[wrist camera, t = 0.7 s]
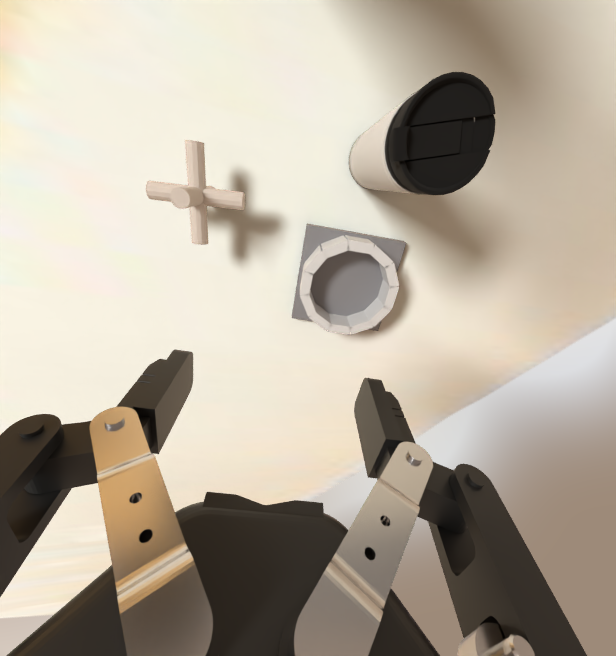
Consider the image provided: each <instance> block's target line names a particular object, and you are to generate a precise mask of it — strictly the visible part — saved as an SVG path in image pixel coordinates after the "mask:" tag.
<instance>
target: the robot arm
mask: <svg viewBox="0 0 616 656" xmlns="http://www.w3.org/2000/svg"><path fill="white" fill-rule="evenodd" d="M192 383H193V353H192V352H188V351H181V350H173V352H172V353H171V354H170V356H169V357H168V359H167V360H164V359H159V360H157V361H155V362H154V363H152V364H150V365H149V366H148V367H147V369H146V370H145V371H144V372H143V375H141V376H140V378H139V379H138V380H137V382H136V383H135V384H134V385H133V386H132V388H131V389H130V390H129V392H128V393H127V394H126V395H125V397H124V398H123V399H122V400H121V402H120V403H119V404H118V405H117V407H114V408H110V409H107V410H105V411H103V412H101V413H99V414H98V415H97V416H96V417H95V418H94V419H93V420H92V421H88V422H81V423H72V424H64V425H62V424H61V421H60V419H59V418H58V417H56V416H54V415H50V414H39V415H34V416H30V417H27V418H24V419H22V420H20V421H18V422H16V423H14V424H13V425H11V426H10V427H9V428H7V429H6V430H5V431H4V432H3V433H2V434H1V435H0V597H1V595H2V594H3V592H4V591H5V589H6V588H7V586H8V585H9V583H10V582H11V580H12V579H13V577H14V575H15V574H16V572H17V571H18V569H19V568H20V566H21V565H22V563H23V562H24V560H25V559H26V557H27V556H28V554H29V553H30V551H31V550H32V548H33V546H34V545H35V543H36V542H37V540H38V539H39V537H40V536H41V534H42V533H43V531H44V530H45V528H46V527H47V525H48V524H49V522H50V521H51V519H52V517H53V516H54V514H55V513H56V511H57V510H58V508H59V507H60V505H61V504H62V502H63V501H64V499H65V498H66V496H67V495H68V493H69V492H70V490H71V488H74V487H79V486H84V485H89V484H94V483H98V486H99V492H100V497H101V503H102V509H103V515H104V520H105V526H106V532H107V538H108V543H109V549H110V555H111V561H112V566H110V567H109V568H108V569H107V570H106V571H105V572H103V573H102V574H101V575H100V576H99V577H98V578H96V579H95V580H94V581H93V582H92V583H91V584H89V585H88V586H87V587H86V588H85V589H84V590H82V591H81V592H80V593H79V594H78V595H77V596H75V597H74V598H73V599H72V600H71V601H70V602H68V603H67V604H66V605H65V606H64V607H63V608H61V609H60V610H59V611H58V612H57V613H56V614H54V615H53V616H52V617H51V618H50V619H49V620H47V621H46V622H45V623H44V624H43V625H42V626H40V627H39V628H38V629H37V630H36V631H35V632H33V633H32V634H31V635H30V636H29V637H28V638H27V639H25V640H24V641H23V642H22V643H21V644H19V645H18V646H17V647H16V648H15V649H14V650H13V651H11V652H10V653H9V654H8V655H7V656H440V655H439V654H438V653H437V651H436V650H435V648H434V647H433V646H432V644H431V643H430V641H429V640H428V639H427V637H426V636H425V634H424V633H423V632H422V630H421V629H420V627H419V626H418V625H417V623H416V622H415V621H414V619H413V618H412V616H411V615H410V614H409V612H408V611H407V610H406V608H405V607H404V606H403V604H402V603H401V601H400V600H399V599H398V597H397V596H396V594H395V593H394V592H393V590H392V589H391V586H392V583H393V580H394V577H395V575H396V572H397V569H398V567H399V564H400V561H401V559H402V556H403V553H404V550H405V548H406V545H407V543H408V540H409V537H410V534H411V532H412V529H413V526H414V524H415V521H416V518H417V516H418V517H420V518H422V519H424V520H427V521H428V522H429V526H430V529H431V532H432V536H433V539H434V542H435V545H436V549H437V552H438V555H439V559H440V562H441V565H442V568H443V572H444V575H445V578H446V581H447V585H448V588H449V591H450V595H451V598H452V601H453V604H454V607H455V611H456V614H457V618H458V621H459V624H460V627H461V631H462V634H463V637H464V639H463V640H462V641H461V642H460V644H459V647H458V656H587V655H586V653H585V651H584V649H583V648H582V646H581V644H580V642H579V640H578V638H577V637H576V635H575V633H574V631H573V629H572V627H571V626H570V624H569V622H568V620H567V618H566V617H565V615H564V613H563V611H562V610H561V608H560V606H559V604H558V602H557V600H556V598H555V597H554V595H553V593H552V591H551V589H550V588H549V586H548V584H547V582H546V580H545V578H544V577H543V575H542V573H541V571H540V569H539V568H538V566H537V564H536V562H535V560H534V559H533V557H532V555H531V553H530V551H529V549H528V548H527V546H526V544H525V542H524V540H523V538H522V537H521V535H520V533H519V531H518V530H517V528H516V526H515V524H514V522H513V520H512V518H511V517H510V515H509V513H508V511H507V510H506V508H505V506H504V504H503V502H502V501H501V499H500V497H499V495H498V493H497V491H496V489H495V488H494V486H493V484H492V482H491V481H490V480H489V478H488V477H487V476H486V475H485V474H484V473H483V472H481V471H480V470H479V469H477V468H475V467H473V466H471V465H468V464H460V465H458V466H457V467H456V468H455V470H451V469H449V468H446V467H444V466H441V465H439V464H436V463H434V462H433V461H432V459H431V457H430V455H429V454H428V453H427V451H426V450H425V449H423V448H422V447H420V446H419V445H417V444H416V443H415V441H414V438H413V436H412V434H411V431H410V429H409V426H408V424H407V421H406V419H405V418H404V414H403V412H402V411H401V407H400V404H399V402H398V400H397V399H396V398H395V397H394V396H393V394H392V393H391V392H386V391H385V388H384V386H383V383H382V381H381V380H377V379H370V378H365V379H364V380H363V382H362V385H361V388H360V391H359V393H358V396H357V399H356V402H355V408H354V413H355V419H356V423H357V428H358V433H359V438H360V442H361V447H362V452H363V456H364V461H365V466H366V470H367V475H368V477H370V478H377V482H376V484H375V486H374V487H373V489H372V490H371V492H370V494H369V496H368V497H367V499H366V501H365V503H364V504H363V506H362V508H361V510H360V511H359V513H358V515H357V517H356V518H355V520H354V522H353V524H352V525H351V527H350V529H349V531H348V530H347V528H346V527H345V526H343V525H342V524H341V523H340V522H339V521H337V520H336V519H334V518H333V517H331V516H329V515H327V514H325V513H323V503H317V502H307V501H296V500H295V501H289V502H284V503H278V504H272V505H262V504H259V503H257V502H254V501H251V500H249V499H246V498H243V497H241V496H238V495H234V494H223V493H213V492H207V493H206V496H205V499H204V502H199V503H196V504H192V505H189V506H187V507H185V508H182V509H181V510H179V511H177V512H174V509H173V506H172V503H171V500H170V497H169V495H168V492H167V489H166V486H165V483H164V480H163V478H162V475H161V472H160V469H159V466H158V463H157V461H156V458H155V455H154V454H153V453H155V454H159V452H160V450H161V448H162V446H163V444H164V442H165V440H166V438H167V436H168V434H169V433H170V431H171V429H172V427H173V425H174V423H175V421H176V419H177V417H178V415H179V413H180V411H181V409H182V407H183V405H184V403H185V401H186V399H187V397H188V395H189V393H190V391H191V388H192Z"/></svg>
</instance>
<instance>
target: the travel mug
mask: <svg viewBox="0 0 616 656" xmlns="http://www.w3.org/2000/svg"><path fill="white" fill-rule="evenodd" d="M493 114H495V107H494V100H493V96H492V95H491V93H490V91H489V89H488V87H487V86H486V85H485V84H484V83H483V82H482V81H481V80H480V79H478V78H477V77H475V76H474V75H471V74H468V73H464V72H451V73H447V74H443V75H441V76H439V77H437V78H435V79H433V80H431V81H430V82H429V83H428V84H426V85H425V86H424V87H422V88H421V89H420V90H419V91H417V92H415V93H413V94H412V95H411V96H410V97H408V98H407V99H406V100H404V101H403V102H402V103H401V104H399V105H398V106H397V107H396V108H394V109H393V110H392V111H391V112H389V113H388V114H387V115H386V116H384V117H383V118H382V119H381V120H379V121H378V122H377V123H375V124H374V125H373V126H372V127H370V128H369V129H368V130H367V131H365V132H364V133H363V134H362V135H360V136H359V137H358V139H357V140H356V141H355V143H354V144H353V146H352V148H351V151H350V155H349V169H350V172H351V175H352V177H353V179H354V180H355V181H356V182H357V183H358V184H359V185H360V186H362V187H364V188H367V189H374V190H383V191H392V192H401V193H410V194H428V195H444V194H448V193H452V192H454V191H456V190H458V189H460V188H462V187H463V186H465V185H466V184H467V183H469V182H470V181H471V180H472V179H473V178H474V177H475V176H476V175H477V174H478V173H479V171H480V170H481V169H482V167H483V166H484V164H485V162H486V159H487V157H488V154H489V152H490V150H489V148H490V147H491V145H492V141H493V137H494V132H495V118H494V115H493Z"/></svg>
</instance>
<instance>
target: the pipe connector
mask: <svg viewBox="0 0 616 656" xmlns="http://www.w3.org/2000/svg"><path fill="white" fill-rule="evenodd" d="M185 148H186V163H187V177H188V185H180V184H172V183H164V182H156V181H148V182H147V184H146V192H147V196H148V197H149V198H150V199H153V200H161V201H170V202H172V203H173V205H174V206H176V207H177V208H180V209H184V208H188V207H190V221H191V236H192V243H194V244H201V245H203V244H208V226H207V206H212V207H220V208H229V209H237V210H244V208H245V193H244V192H237V191H229V190H221V189H215V188H214V187H212V186H206V179H205V156H204V143H202V142H197V141H191V140H185Z"/></svg>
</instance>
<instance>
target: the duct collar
mask: <svg viewBox="0 0 616 656" xmlns="http://www.w3.org/2000/svg"><path fill="white" fill-rule="evenodd" d="M405 245H406V242H404V241H400V240H395V239H389V238H384V237H378V236H373V235H367V234H362V233H356V232H351V231H345V230H340V229H334V228H329V227H323V226H317V225H312V224H307V226H306V232H305V238H304V244H303V251H302V257H301V263H300V269H299V275H298V281H297V287H296V294H295V300H294V306H293V312H292V318H295V319H302V320H309V321H314V322H315V323H316V324H318V325H319V326H320V327H322V328H323V329H324V330H326V331H327V330H328V332H334V333H341V334H348V335H350V332H351V335H352V334H355V333H358V332H361V331H364V330H367V329H369V330H376V331H378V329H379V326H380V323H381V320H382V319H383V318H384V317H385V316H386V315H387V314H388V313H389V312H390V311H391V310H390V309H392V308H393V305H394V302H395V299H396V296H397V293H398V290H399V282H398V277H397V270H398V267H399V264H400V261H401V258H402V255H403V251H404V248H405Z"/></svg>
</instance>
